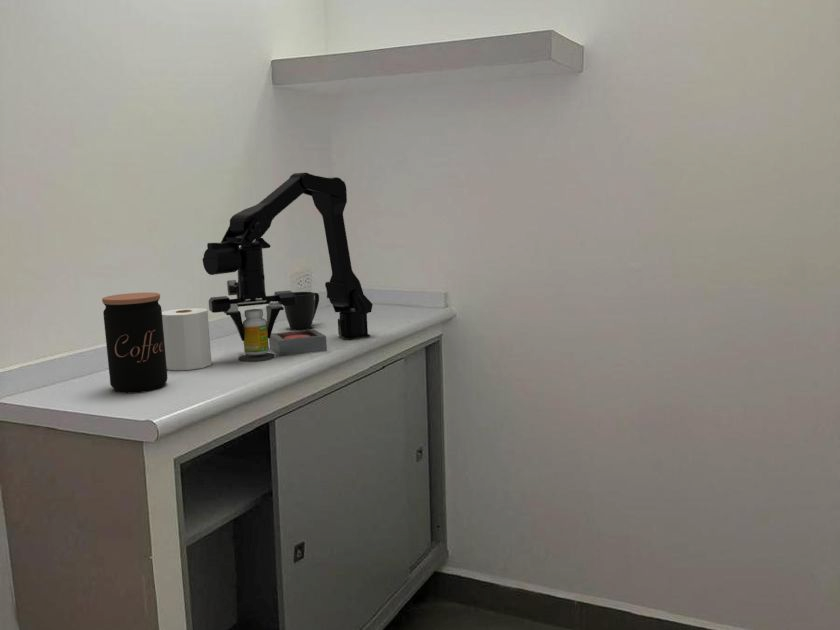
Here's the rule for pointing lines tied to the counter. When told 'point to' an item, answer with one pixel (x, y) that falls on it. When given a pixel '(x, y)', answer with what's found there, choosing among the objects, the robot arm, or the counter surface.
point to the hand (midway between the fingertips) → (255, 339)
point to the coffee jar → (135, 342)
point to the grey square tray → (297, 342)
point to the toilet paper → (186, 338)
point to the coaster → (256, 357)
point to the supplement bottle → (255, 333)
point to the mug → (302, 311)
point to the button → (296, 336)
